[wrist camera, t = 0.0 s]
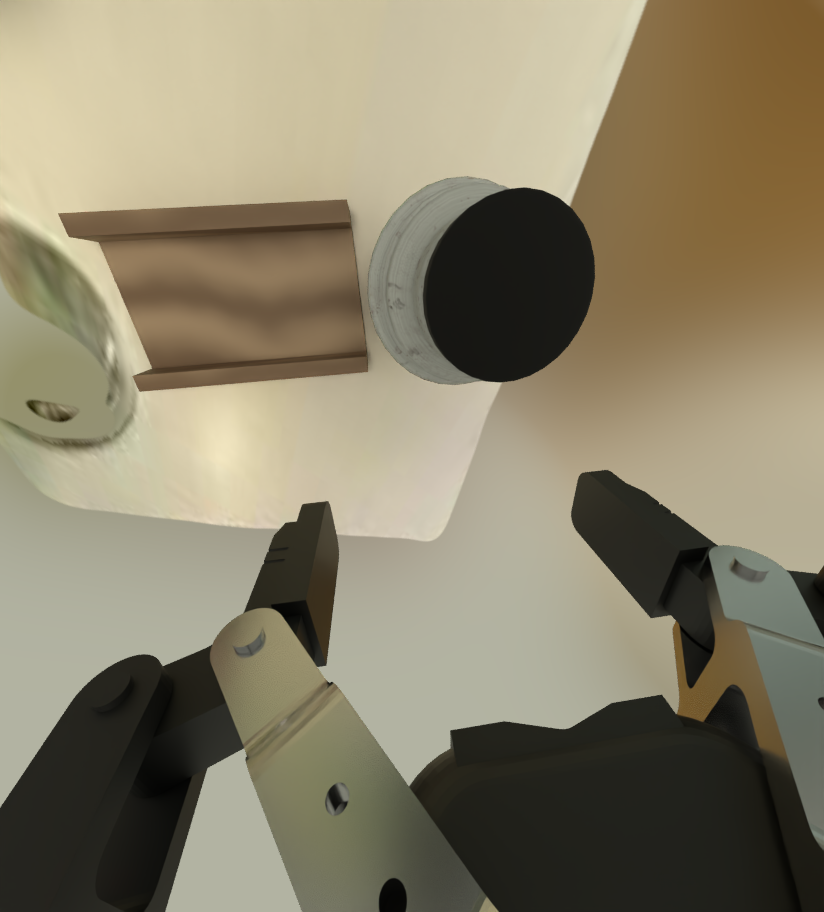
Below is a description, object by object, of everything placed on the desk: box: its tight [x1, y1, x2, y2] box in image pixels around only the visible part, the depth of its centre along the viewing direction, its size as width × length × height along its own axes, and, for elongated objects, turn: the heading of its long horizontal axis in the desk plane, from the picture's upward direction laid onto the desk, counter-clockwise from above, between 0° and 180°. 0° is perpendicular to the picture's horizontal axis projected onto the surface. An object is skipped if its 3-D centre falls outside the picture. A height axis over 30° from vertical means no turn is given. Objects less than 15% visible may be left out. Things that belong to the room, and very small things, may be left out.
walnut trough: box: [58, 200, 368, 392], centre depth 31 cm, size 14×22×4 cm, turn 93°
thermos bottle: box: [368, 176, 595, 385], centre depth 21 cm, size 8×8×28 cm
